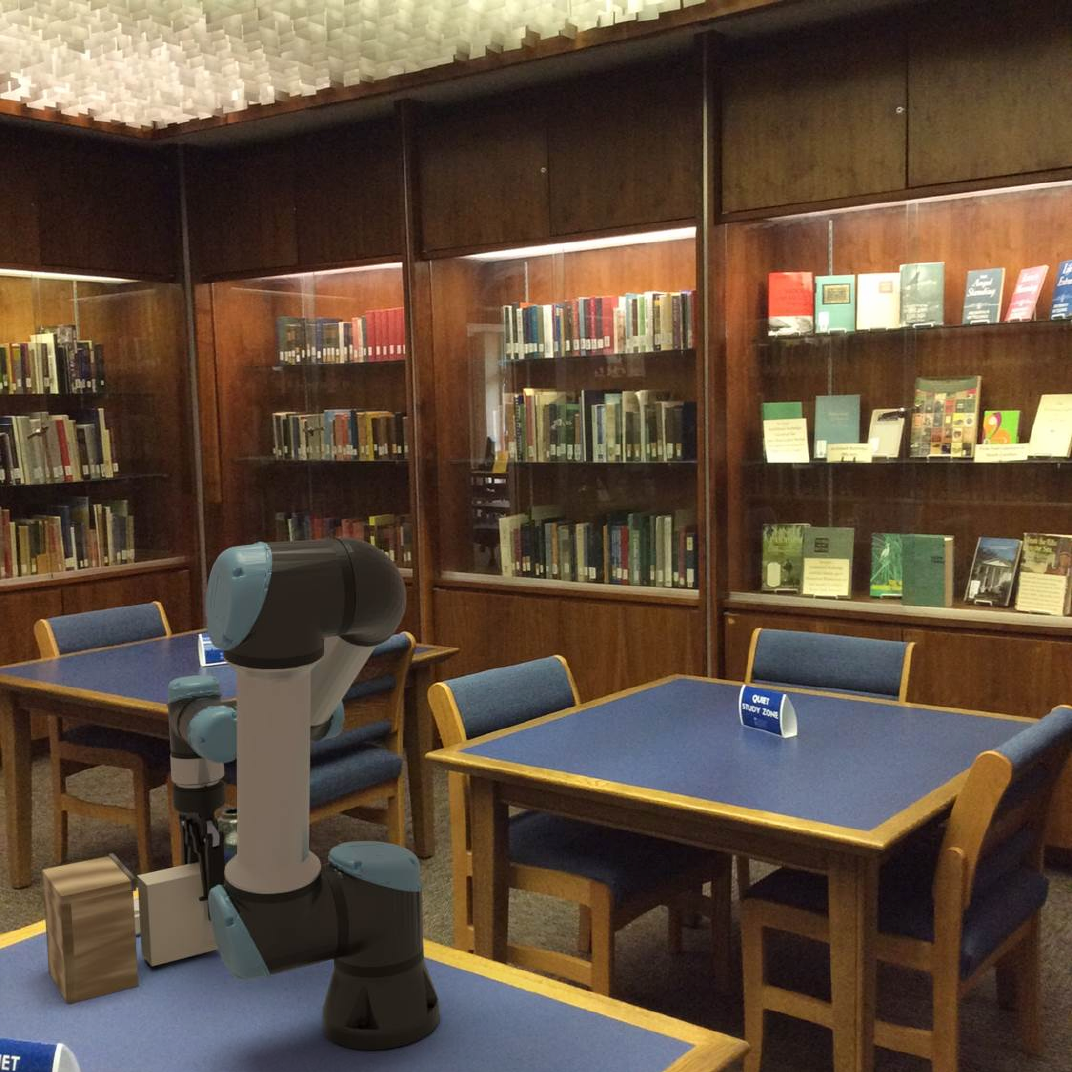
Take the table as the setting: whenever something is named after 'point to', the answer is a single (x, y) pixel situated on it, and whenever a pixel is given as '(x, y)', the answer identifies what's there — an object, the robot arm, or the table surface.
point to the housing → (90, 927)
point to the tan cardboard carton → (171, 914)
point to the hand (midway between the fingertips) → (206, 932)
